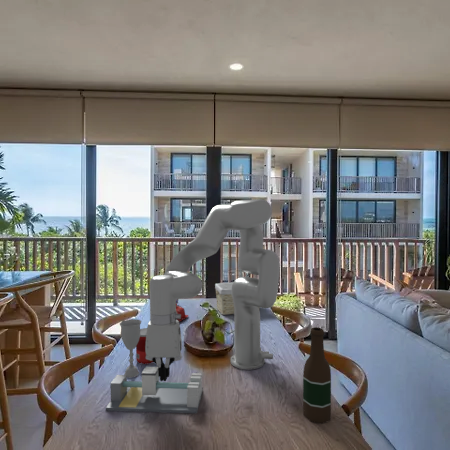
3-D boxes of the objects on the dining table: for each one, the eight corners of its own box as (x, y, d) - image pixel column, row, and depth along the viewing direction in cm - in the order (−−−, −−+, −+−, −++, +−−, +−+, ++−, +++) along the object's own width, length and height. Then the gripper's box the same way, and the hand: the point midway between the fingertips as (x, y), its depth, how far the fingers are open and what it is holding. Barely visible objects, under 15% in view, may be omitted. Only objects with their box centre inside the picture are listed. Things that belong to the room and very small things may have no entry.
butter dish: (189, 317, 176) (189, 301, 175) (178, 324, 165) (178, 307, 165) (171, 315, 180) (171, 299, 180) (159, 321, 170) (158, 305, 169)
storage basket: (253, 305, 197) (253, 280, 197) (263, 313, 182) (263, 286, 181) (214, 308, 192) (214, 283, 191) (220, 316, 176) (220, 289, 175)
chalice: (122, 380, 110) (121, 327, 109) (119, 372, 116) (117, 321, 115) (144, 375, 113) (143, 323, 112) (140, 367, 119) (139, 318, 118)
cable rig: (202, 390, 104) (202, 370, 103) (196, 413, 92) (196, 391, 92) (121, 387, 106) (121, 368, 105) (105, 410, 94) (105, 388, 93)
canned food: (152, 365, 121) (152, 335, 120) (132, 363, 122) (131, 334, 122) (160, 356, 128) (160, 328, 128) (141, 354, 130) (141, 327, 129)
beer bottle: (298, 407, 94) (298, 324, 93) (325, 406, 95) (325, 323, 94) (307, 425, 86) (308, 334, 85) (336, 423, 87) (337, 333, 86)
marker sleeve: (159, 387, 101) (159, 366, 100) (155, 395, 96) (155, 373, 96) (146, 387, 101) (145, 366, 101) (141, 395, 97) (141, 373, 96)
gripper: (190, 314, 101) (191, 373, 101) (142, 313, 102) (143, 372, 102) (186, 322, 93) (186, 386, 94) (134, 321, 94) (135, 384, 95)
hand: (164, 378), depth 98 cm, fingers closed
